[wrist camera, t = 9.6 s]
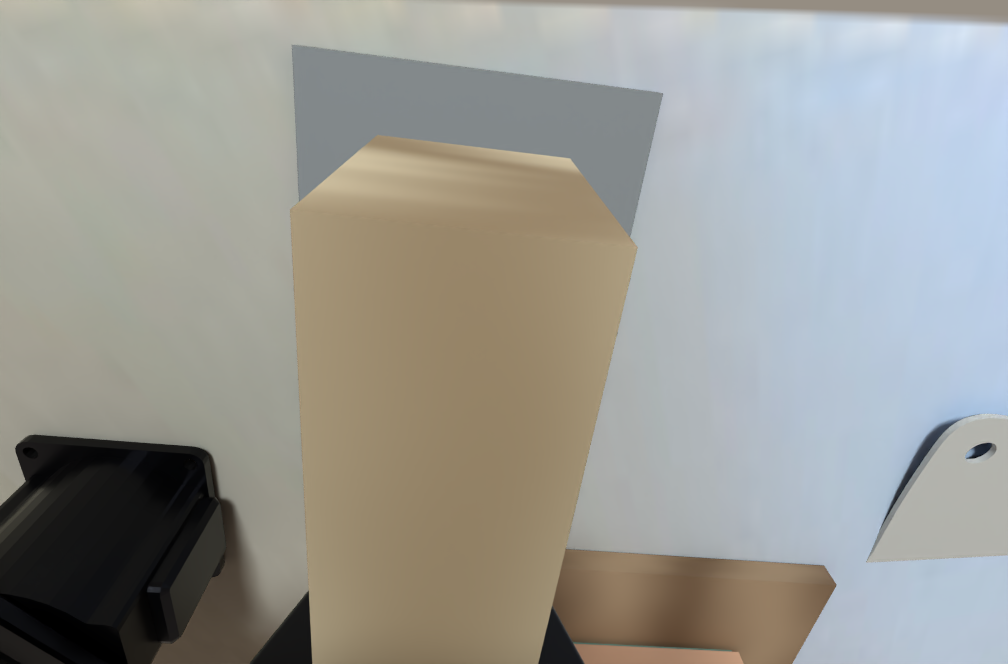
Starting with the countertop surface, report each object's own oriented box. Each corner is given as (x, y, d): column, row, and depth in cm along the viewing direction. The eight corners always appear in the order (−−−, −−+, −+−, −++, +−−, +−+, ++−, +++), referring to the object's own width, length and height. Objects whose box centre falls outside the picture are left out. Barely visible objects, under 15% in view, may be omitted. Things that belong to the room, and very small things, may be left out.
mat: (315, 515, 23) (313, 521, 22) (295, 44, 15) (292, 44, 15) (560, 531, 23) (561, 537, 23) (659, 92, 16) (662, 93, 16)
